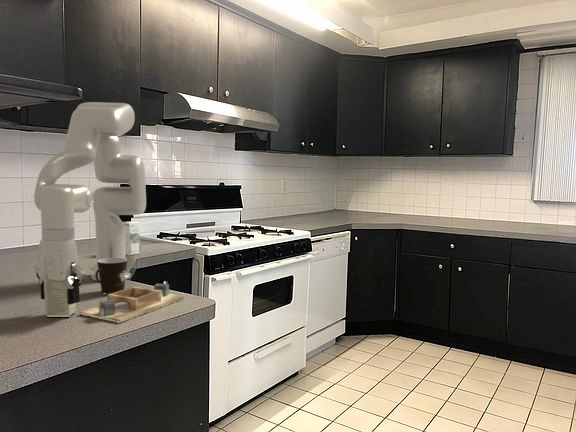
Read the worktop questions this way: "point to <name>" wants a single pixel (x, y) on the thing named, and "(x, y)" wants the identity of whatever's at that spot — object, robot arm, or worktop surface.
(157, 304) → the board
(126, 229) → the syrup box
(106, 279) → the coffee mug
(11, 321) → the worktop surface
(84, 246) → the worktop surface
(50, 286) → the skincare box
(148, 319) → the worktop surface
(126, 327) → the worktop surface
